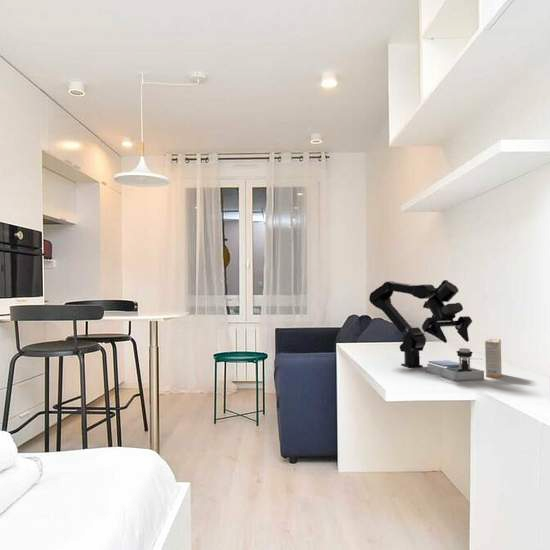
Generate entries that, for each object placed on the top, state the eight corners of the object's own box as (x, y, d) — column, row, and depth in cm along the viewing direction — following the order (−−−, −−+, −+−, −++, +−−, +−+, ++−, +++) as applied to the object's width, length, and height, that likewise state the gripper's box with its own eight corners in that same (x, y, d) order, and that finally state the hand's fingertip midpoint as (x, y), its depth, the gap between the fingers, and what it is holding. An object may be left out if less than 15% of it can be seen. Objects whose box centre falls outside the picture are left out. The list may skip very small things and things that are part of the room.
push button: (454, 377, 163) (453, 349, 163) (452, 375, 168) (451, 347, 168) (474, 378, 161) (473, 350, 161) (471, 375, 166) (471, 348, 166)
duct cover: (428, 362, 177) (428, 361, 177) (448, 361, 180) (448, 360, 180) (443, 366, 168) (443, 365, 168) (464, 365, 170) (464, 364, 170)
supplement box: (487, 372, 174) (487, 338, 174) (501, 374, 171) (501, 339, 172) (485, 376, 167) (484, 340, 167) (499, 378, 164) (499, 341, 164)
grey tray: (425, 371, 177) (425, 363, 177) (450, 369, 180) (450, 362, 180) (455, 381, 159) (455, 372, 159) (484, 379, 162) (483, 370, 162)
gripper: (425, 295, 170) (444, 328, 159) (468, 295, 175) (489, 326, 164) (414, 315, 178) (431, 347, 167) (455, 314, 183) (474, 345, 172)
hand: (457, 341), depth 167 cm, fingers open, 9 cm apart
